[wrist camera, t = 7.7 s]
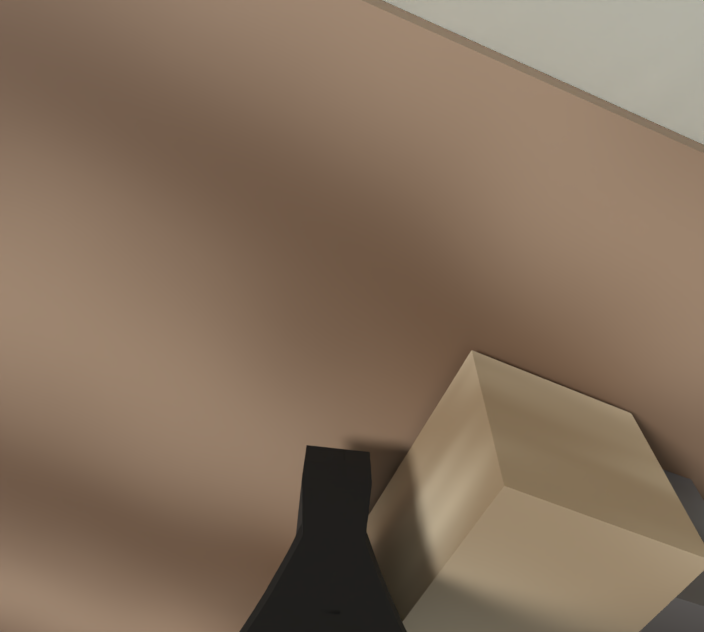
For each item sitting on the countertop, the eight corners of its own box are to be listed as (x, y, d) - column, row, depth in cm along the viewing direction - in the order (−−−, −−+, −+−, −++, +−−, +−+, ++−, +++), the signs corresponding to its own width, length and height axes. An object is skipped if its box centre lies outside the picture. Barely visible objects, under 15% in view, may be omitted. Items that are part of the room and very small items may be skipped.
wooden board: (366, 792, 21) (363, 1007, 17) (-209, 653, 19) (-388, 866, 14) (848, 210, 11) (1151, 372, 7) (-269, -292, 8) (-973, -565, 4)
